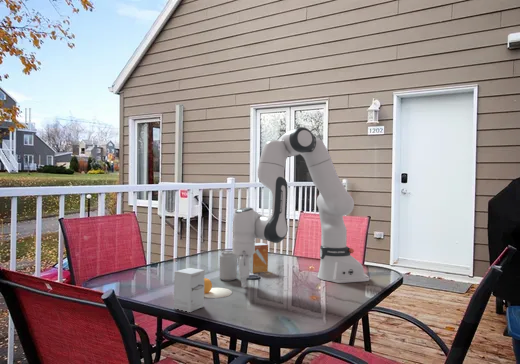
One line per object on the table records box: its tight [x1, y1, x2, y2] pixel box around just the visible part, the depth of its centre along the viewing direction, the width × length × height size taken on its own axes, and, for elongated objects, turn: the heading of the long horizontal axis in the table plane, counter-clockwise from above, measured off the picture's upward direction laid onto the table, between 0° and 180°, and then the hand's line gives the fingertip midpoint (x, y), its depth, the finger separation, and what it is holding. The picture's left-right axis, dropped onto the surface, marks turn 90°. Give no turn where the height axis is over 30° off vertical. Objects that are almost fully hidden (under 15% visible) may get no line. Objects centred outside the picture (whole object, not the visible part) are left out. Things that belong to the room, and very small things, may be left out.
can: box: [219, 250, 238, 282], centre depth 168 cm, size 8×8×12 cm
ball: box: [204, 277, 213, 293], centre depth 146 cm, size 6×6×6 cm
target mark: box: [204, 287, 233, 299], centre depth 147 cm, size 13×13×1 cm
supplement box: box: [173, 267, 206, 313], centre depth 129 cm, size 7×7×13 cm
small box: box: [249, 242, 269, 274], centre depth 183 cm, size 8×6×13 cm
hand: (243, 283), depth 152 cm, fingers open, 8 cm apart
